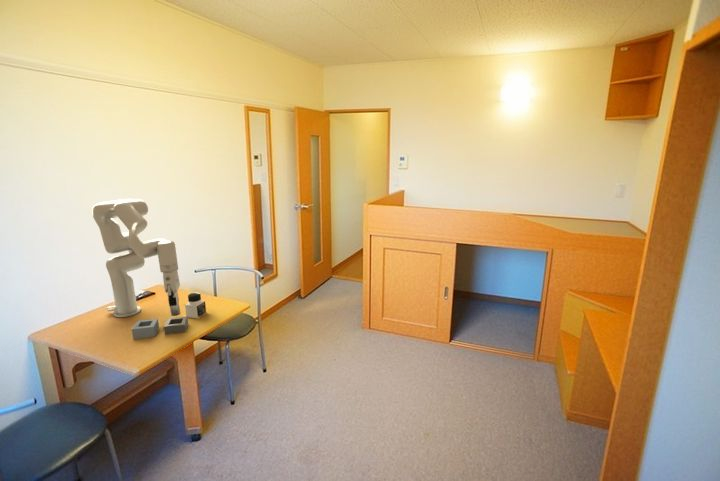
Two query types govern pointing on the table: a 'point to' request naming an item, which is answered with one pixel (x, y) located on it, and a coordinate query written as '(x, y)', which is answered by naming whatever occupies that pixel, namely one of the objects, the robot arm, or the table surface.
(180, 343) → the table surface
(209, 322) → the table surface
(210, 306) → the table surface
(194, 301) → the medicine bottle
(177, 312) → the steel rod
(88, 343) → the table surface
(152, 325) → the socket block
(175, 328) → the grey square ring
